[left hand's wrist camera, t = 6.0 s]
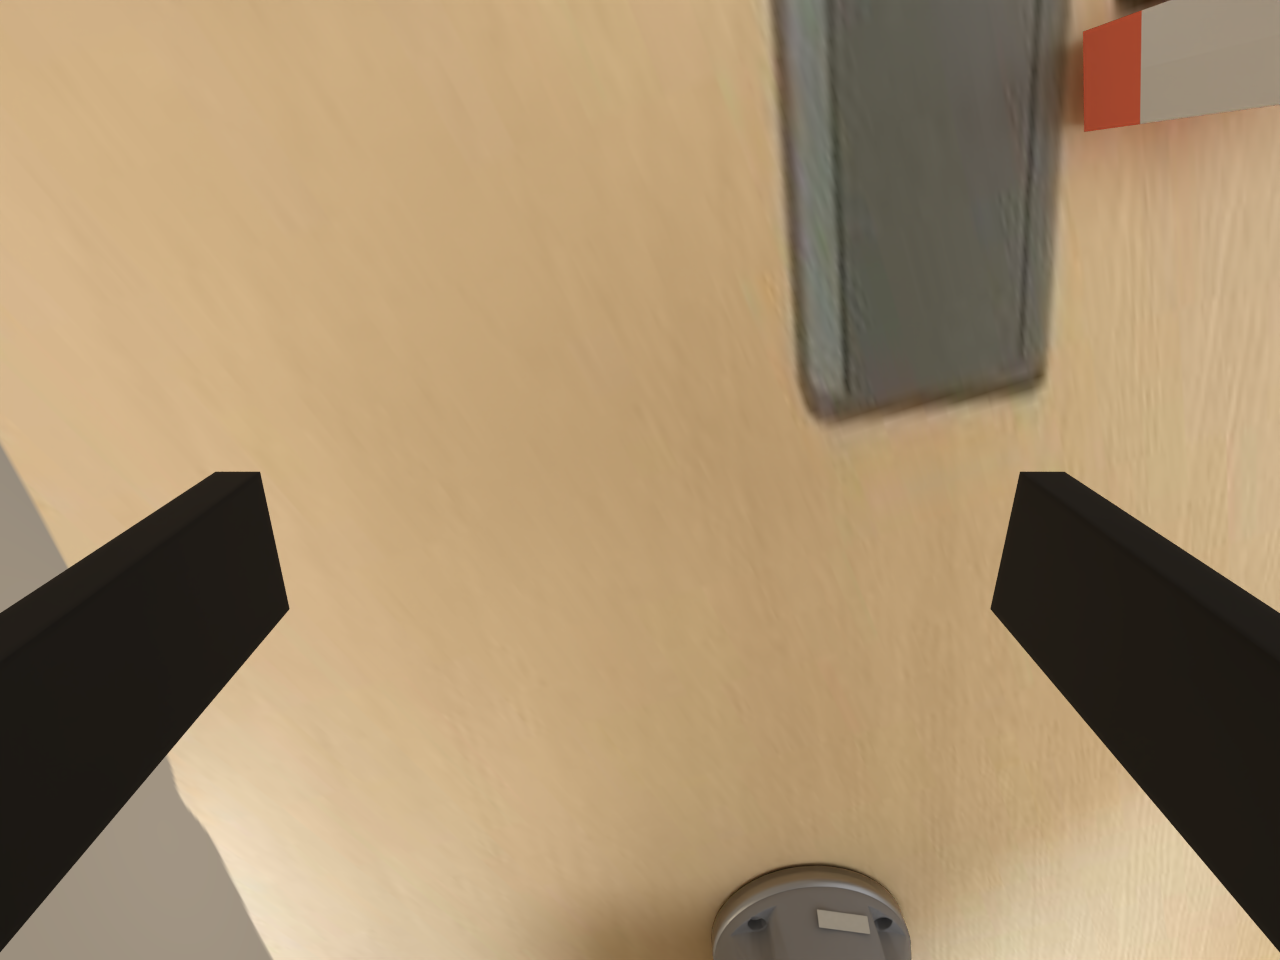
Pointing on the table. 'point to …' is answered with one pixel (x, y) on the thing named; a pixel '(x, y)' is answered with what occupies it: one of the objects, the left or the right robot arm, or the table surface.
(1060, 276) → the table surface
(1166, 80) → the french fries container
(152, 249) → the table surface
